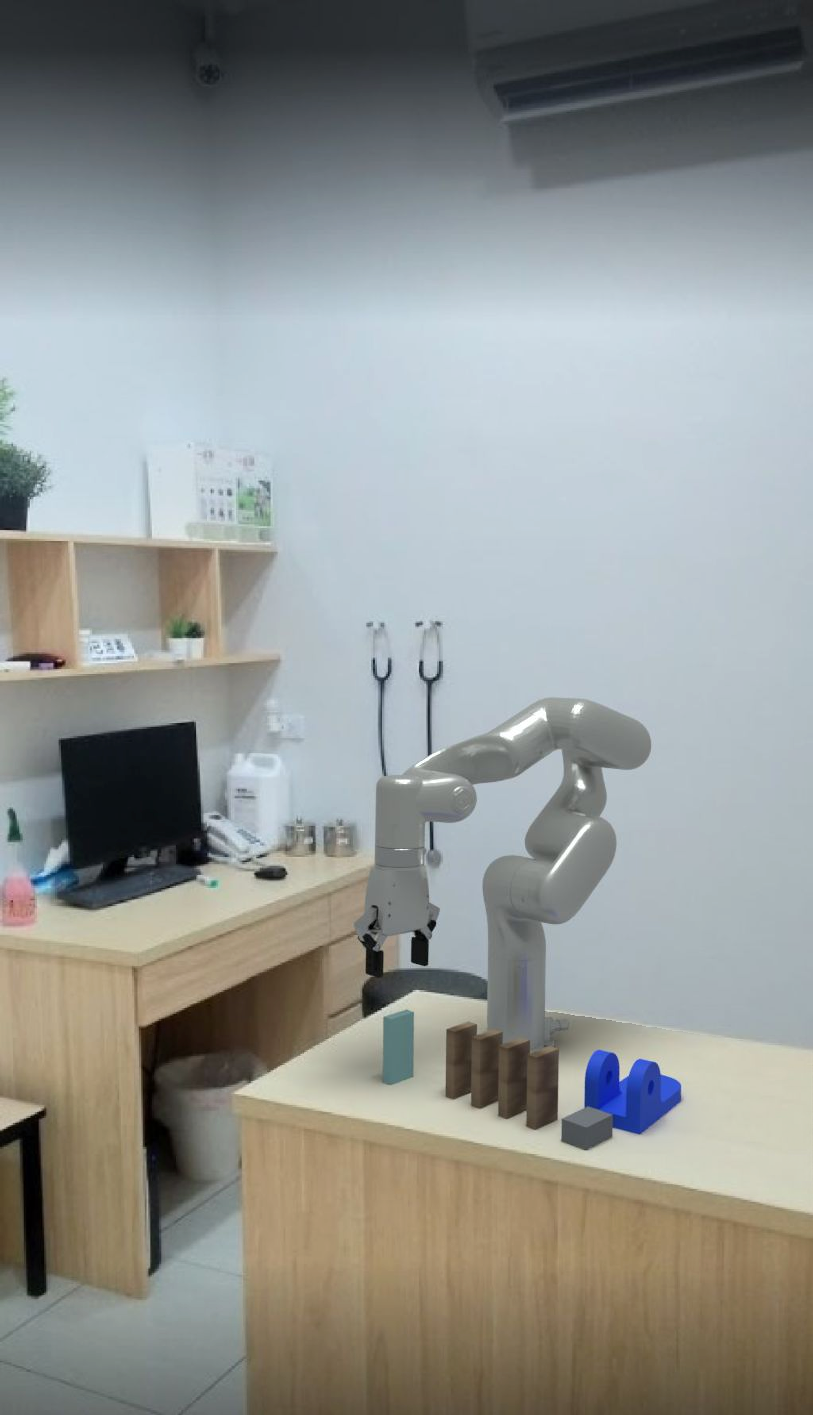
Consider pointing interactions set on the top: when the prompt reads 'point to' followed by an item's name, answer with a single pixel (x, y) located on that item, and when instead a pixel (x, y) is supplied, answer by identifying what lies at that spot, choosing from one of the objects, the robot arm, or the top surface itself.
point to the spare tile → (398, 1046)
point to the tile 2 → (459, 1059)
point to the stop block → (587, 1128)
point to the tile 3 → (485, 1068)
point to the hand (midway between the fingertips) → (397, 969)
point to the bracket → (629, 1091)
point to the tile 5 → (542, 1087)
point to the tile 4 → (513, 1077)
